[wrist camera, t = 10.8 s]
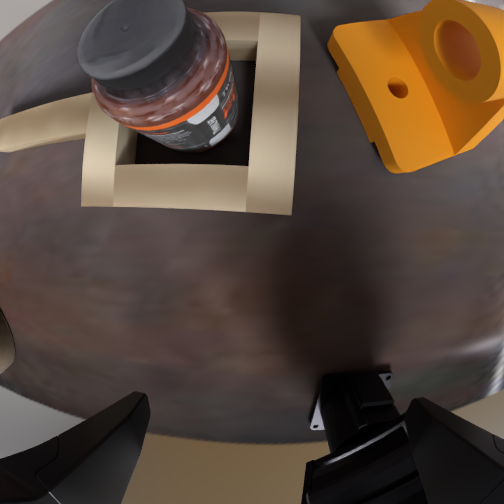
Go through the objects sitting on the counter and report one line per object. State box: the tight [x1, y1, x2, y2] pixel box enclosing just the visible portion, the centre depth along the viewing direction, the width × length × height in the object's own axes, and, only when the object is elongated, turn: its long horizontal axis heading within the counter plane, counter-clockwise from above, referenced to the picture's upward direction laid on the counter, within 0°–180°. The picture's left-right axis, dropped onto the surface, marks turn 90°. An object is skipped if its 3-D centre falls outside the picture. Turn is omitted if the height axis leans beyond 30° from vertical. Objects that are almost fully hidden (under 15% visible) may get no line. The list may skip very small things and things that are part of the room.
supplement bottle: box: [77, 0, 239, 153], centre depth 12 cm, size 6×6×11 cm
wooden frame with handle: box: [0, 12, 300, 215], centre depth 16 cm, size 13×25×3 cm, turn 86°
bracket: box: [327, 0, 504, 173], centre depth 11 cm, size 11×7×12 cm, turn 23°
